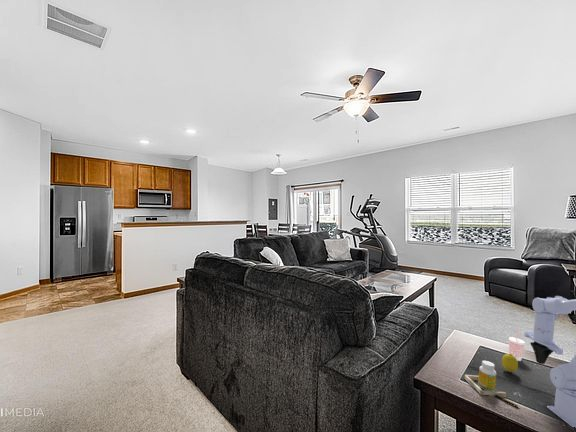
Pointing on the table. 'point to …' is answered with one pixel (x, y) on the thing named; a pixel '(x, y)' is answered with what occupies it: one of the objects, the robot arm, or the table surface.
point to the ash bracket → (482, 392)
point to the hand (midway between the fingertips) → (540, 362)
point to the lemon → (509, 362)
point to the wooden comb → (502, 399)
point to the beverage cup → (516, 347)
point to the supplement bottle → (487, 376)
